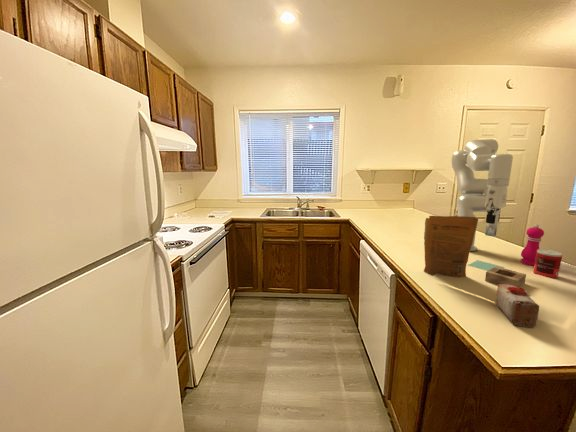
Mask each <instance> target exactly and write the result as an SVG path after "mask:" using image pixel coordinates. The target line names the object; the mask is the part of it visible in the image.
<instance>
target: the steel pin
mask: <svg viewBox="0 0 576 432" xmlns="http://www.w3.org/2000/svg"><path fill="white" fill-rule="evenodd" d="M492 210H494V209H492ZM499 212H500V213H501V211H500V210H497V209H496V212H495V215H496V218H495V223H494V224H491V223H486V224H485V225H486V226H485V232H484V235H485V236H486V237H496V236H497V232H498V227H499V225H498V224H499V222H498V219H499V220H500V218H499Z"/></svg>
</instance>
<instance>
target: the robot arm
mask: <svg viewBox="0 0 576 432" xmlns="http://www.w3.org/2000/svg"><path fill="white" fill-rule="evenodd" d="M498 149H499V143H498V141H497V140H496V139H493V138H488V139H486V138H485V139H474V140H473V139H472V140H470V141H468V142H467V143H466V144H465V146H464V149H461V150H457V151H455V152H453V154H452V155H451V166H452V169H453V171H454V173H455V176H456V183H457V189H458V193H459V194H460V195H461V196H459V197H458V198H457V200H456V206H457V212H456V213H457V215H456V216H464V217H475V218H477V217H476V215H475V213H486V217H485V223H486V224H487V223H491V224H494V223H495V218H496V215H495V212H496V209H497V210H500V212H499V219H498V223H499V222H500V217H501V210H502V209H503V208H505V207H506V205H507V197H508V187H509V186H510V178H511V172H512V166H513V158H514V157H513V155H512V154H509V153H502V154H501V153H497V152H498ZM474 171H475V172H487V171H488V173H487V178H475V174H474V173H475V172H474ZM492 209H494V210H492ZM476 232H477V230H476V231H475V234H474V239H473V243H472V246H471V249H470V251H469V252H476V251H477V250H478V247H476V245H475V241H476Z"/></svg>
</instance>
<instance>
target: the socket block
mask: <svg viewBox="0 0 576 432" xmlns="http://www.w3.org/2000/svg"><path fill="white" fill-rule="evenodd" d="M526 277H527V274H526V273H522V272H520V271H519V272H518V271H516V270H512V269H507V268H505V267H504V268H500V267H497V266H496V267H494V268H492V269H490V270H489V271H486V272H485V278H484V281H485V282H487V283H490V284H494V285H496V286H498V285H499V284H508V285H513V286H516V287H519V288H522V286H523V285H525V284H526V283H525V282H526Z"/></svg>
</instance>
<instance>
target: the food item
mask: <svg viewBox="0 0 576 432" xmlns="http://www.w3.org/2000/svg"><path fill="white" fill-rule="evenodd" d="M527 291H529V289H526V290H525V288H523V287H520V288H519V287H516V286H513V285H508V284H499V285H497V290H496V294H495V295H496V301H495V305H496V306H497V307H498V308H499V309H500V310H501V311H502V313H503V315H505V317H506V318H507V319H508V320H509V321H510V322H511V324H512V325H514V326H518V327H524V328H525V327H526V328H529V329H535V328H536V327H537V321H538V319H539V312H540V305H539V304H538V303H536V301H534V299H532V298H531V297H532V295H530V293H528V292H527Z"/></svg>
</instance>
